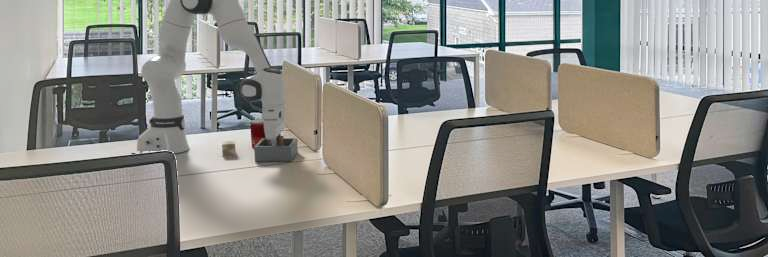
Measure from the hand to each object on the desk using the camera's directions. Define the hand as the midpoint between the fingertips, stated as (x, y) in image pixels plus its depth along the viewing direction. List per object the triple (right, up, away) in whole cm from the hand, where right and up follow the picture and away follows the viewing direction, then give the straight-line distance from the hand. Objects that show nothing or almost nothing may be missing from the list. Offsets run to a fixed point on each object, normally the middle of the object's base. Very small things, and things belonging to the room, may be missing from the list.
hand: (276, 145), depth 277 cm
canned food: (-9, -1, +19) cm, 21 cm away
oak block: (-20, -4, +7) cm, 21 cm away
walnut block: (0, -2, 0) cm, 2 cm away
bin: (0, -5, +1) cm, 5 cm away
